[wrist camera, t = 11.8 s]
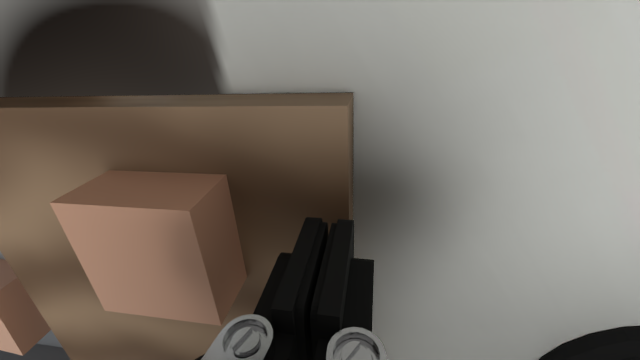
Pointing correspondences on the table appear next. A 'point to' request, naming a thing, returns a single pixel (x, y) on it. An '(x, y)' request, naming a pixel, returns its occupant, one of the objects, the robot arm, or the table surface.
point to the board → (175, 157)
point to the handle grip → (601, 346)
